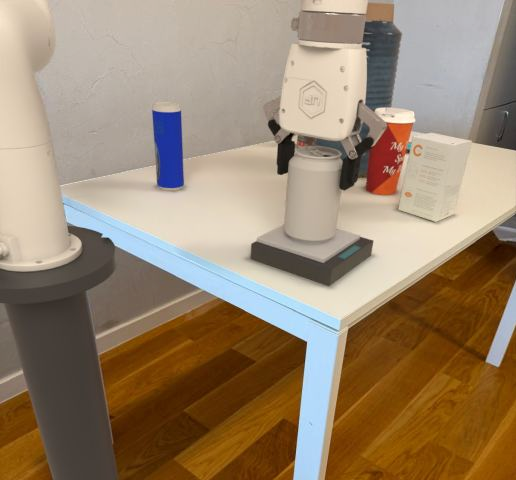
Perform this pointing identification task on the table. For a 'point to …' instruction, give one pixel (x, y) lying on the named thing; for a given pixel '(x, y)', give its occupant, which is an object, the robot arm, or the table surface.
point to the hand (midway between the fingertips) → (314, 180)
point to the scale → (312, 254)
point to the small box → (434, 175)
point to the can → (313, 194)
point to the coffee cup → (389, 151)
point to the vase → (375, 69)
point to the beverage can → (168, 145)
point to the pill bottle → (305, 141)
